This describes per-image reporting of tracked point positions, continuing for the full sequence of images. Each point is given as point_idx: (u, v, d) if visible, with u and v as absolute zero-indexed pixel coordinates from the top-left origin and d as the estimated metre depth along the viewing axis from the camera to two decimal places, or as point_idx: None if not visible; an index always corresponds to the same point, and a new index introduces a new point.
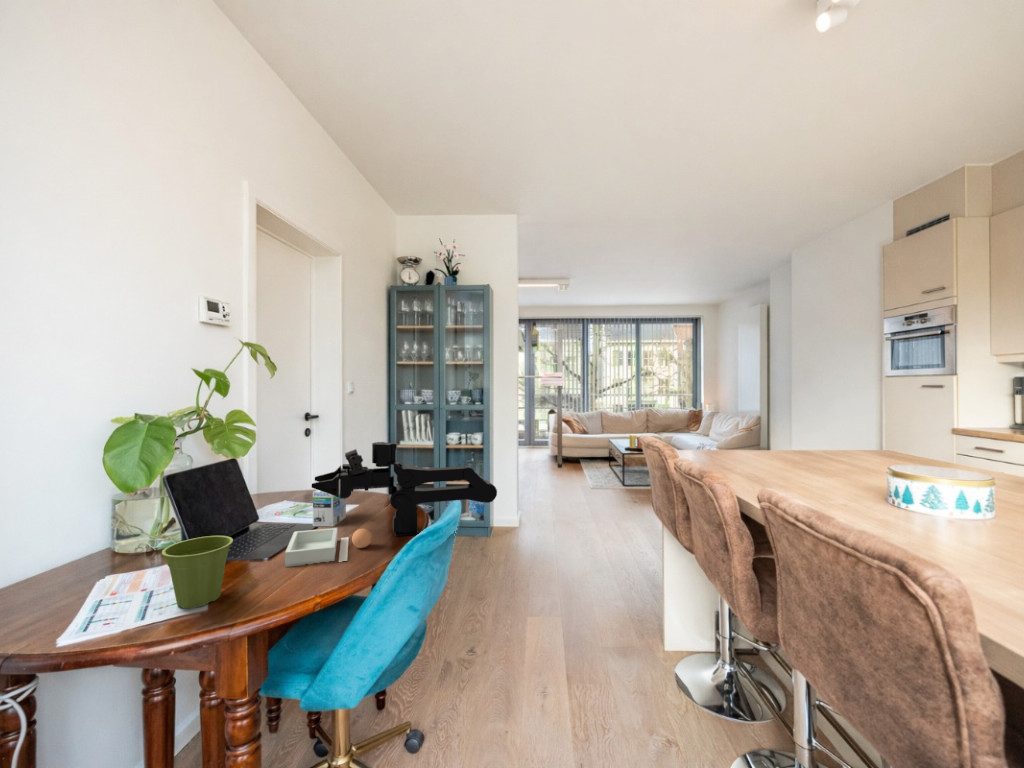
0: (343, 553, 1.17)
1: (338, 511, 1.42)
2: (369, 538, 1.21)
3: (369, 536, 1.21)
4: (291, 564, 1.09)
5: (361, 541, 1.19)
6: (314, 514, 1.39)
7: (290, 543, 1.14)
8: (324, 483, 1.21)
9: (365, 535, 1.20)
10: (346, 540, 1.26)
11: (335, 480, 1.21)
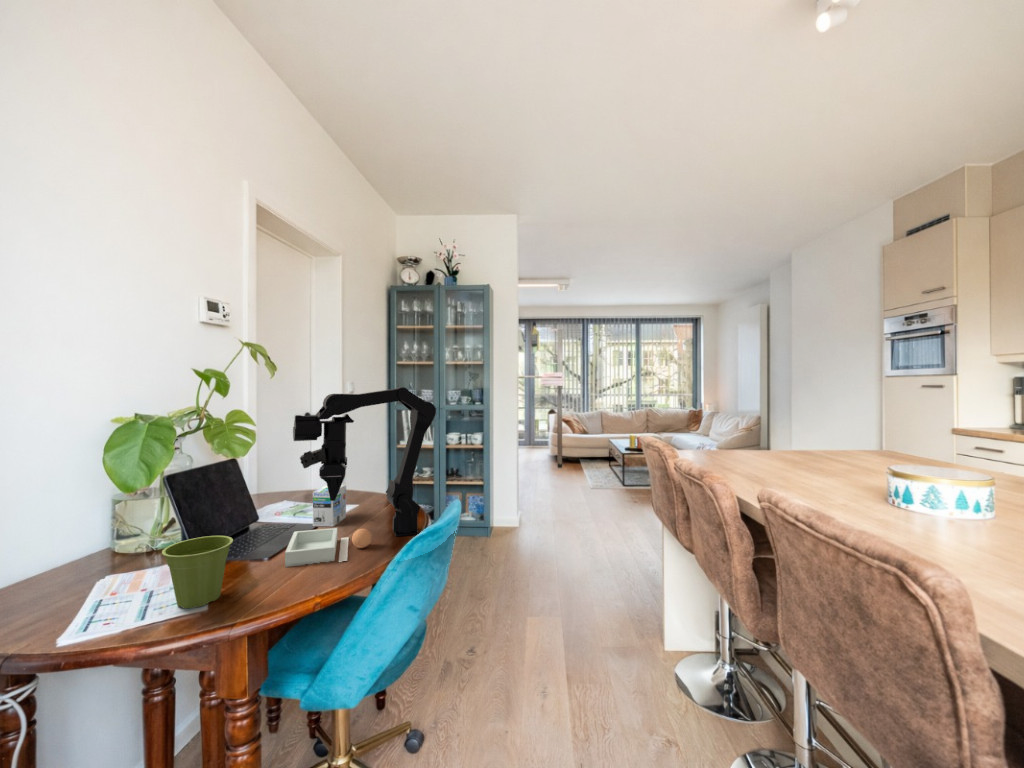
0: (343, 553, 1.17)
1: (338, 511, 1.42)
2: (369, 538, 1.21)
3: (369, 536, 1.21)
4: (291, 564, 1.09)
5: (361, 541, 1.19)
6: (314, 514, 1.39)
7: (290, 543, 1.14)
8: (330, 489, 1.18)
9: (365, 535, 1.20)
10: (346, 540, 1.26)
11: (326, 479, 1.17)
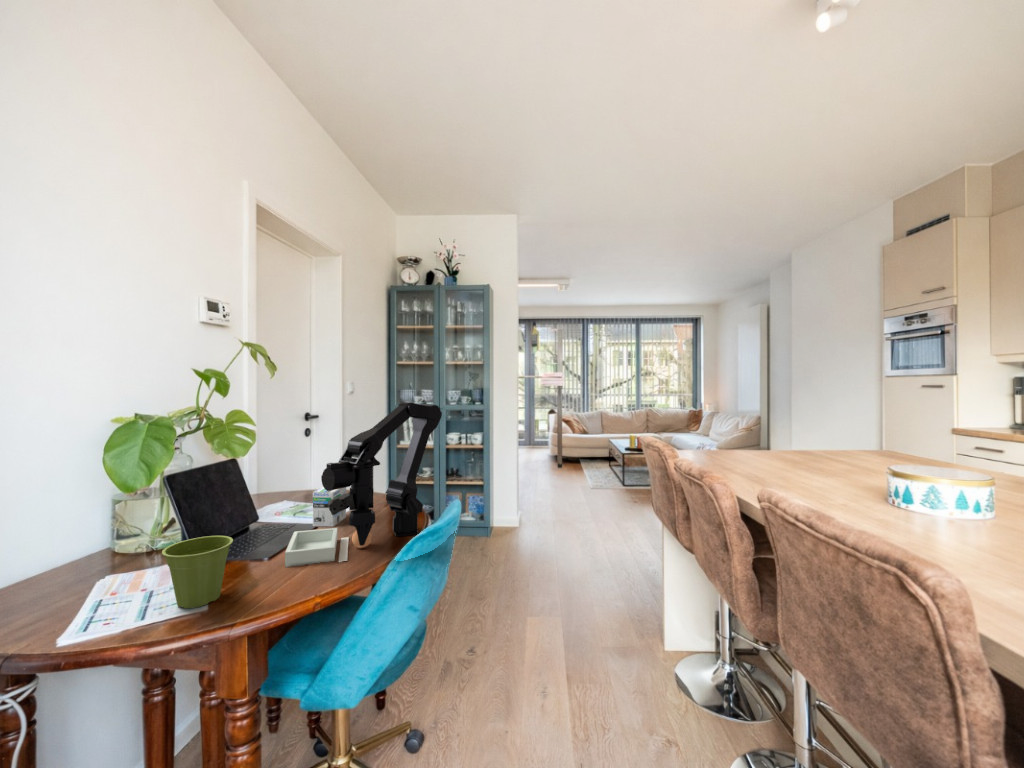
0: (343, 553, 1.17)
1: None
2: (369, 538, 1.21)
3: (369, 536, 1.21)
4: (291, 564, 1.09)
5: None
6: (314, 514, 1.39)
7: (290, 543, 1.14)
8: (360, 534, 1.18)
9: None
10: (346, 540, 1.26)
11: (356, 524, 1.17)
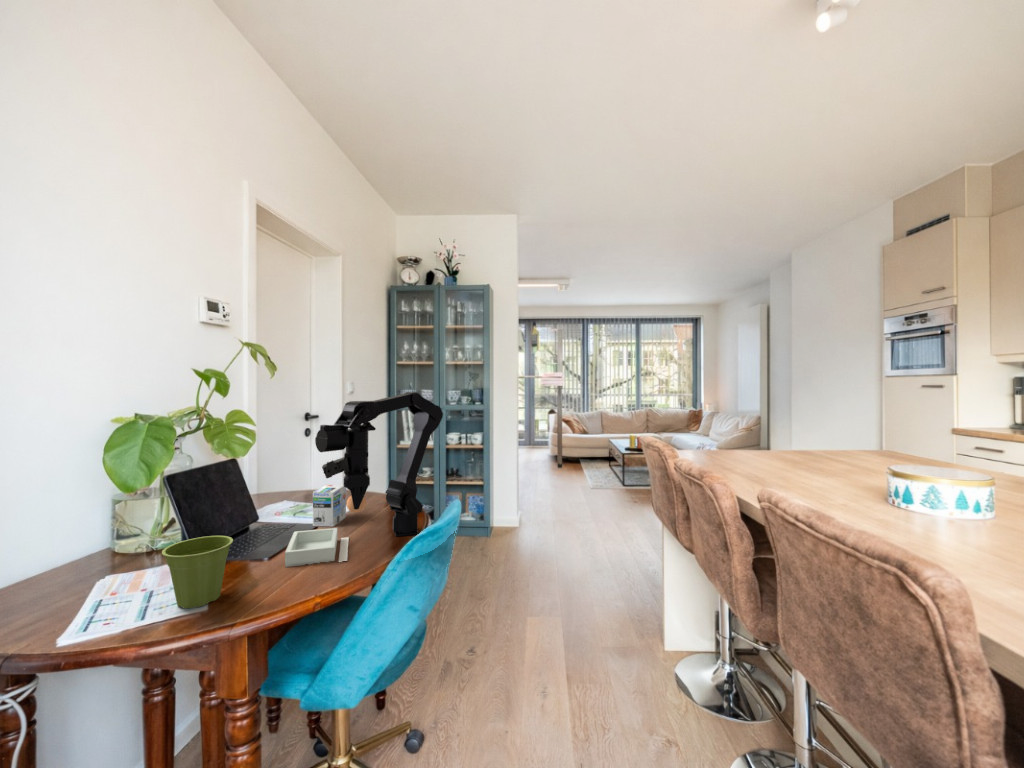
0: (343, 553, 1.17)
1: (338, 511, 1.42)
2: (364, 503, 1.20)
3: (364, 501, 1.20)
4: (291, 564, 1.09)
5: None
6: (314, 514, 1.39)
7: (290, 543, 1.14)
8: (354, 497, 1.17)
9: None
10: (346, 540, 1.26)
11: (350, 488, 1.16)
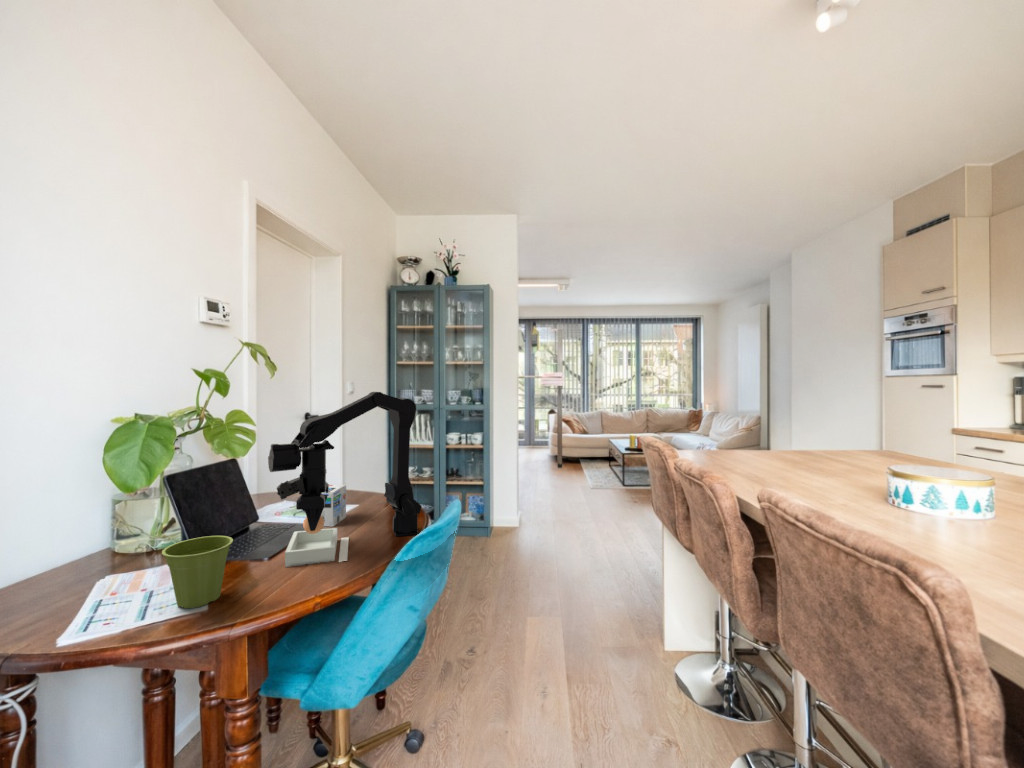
0: (343, 553, 1.17)
1: (338, 511, 1.42)
2: (321, 523, 1.17)
3: (321, 521, 1.17)
4: (291, 564, 1.09)
5: None
6: None
7: (290, 543, 1.14)
8: (310, 519, 1.14)
9: None
10: (346, 540, 1.26)
11: (305, 509, 1.13)
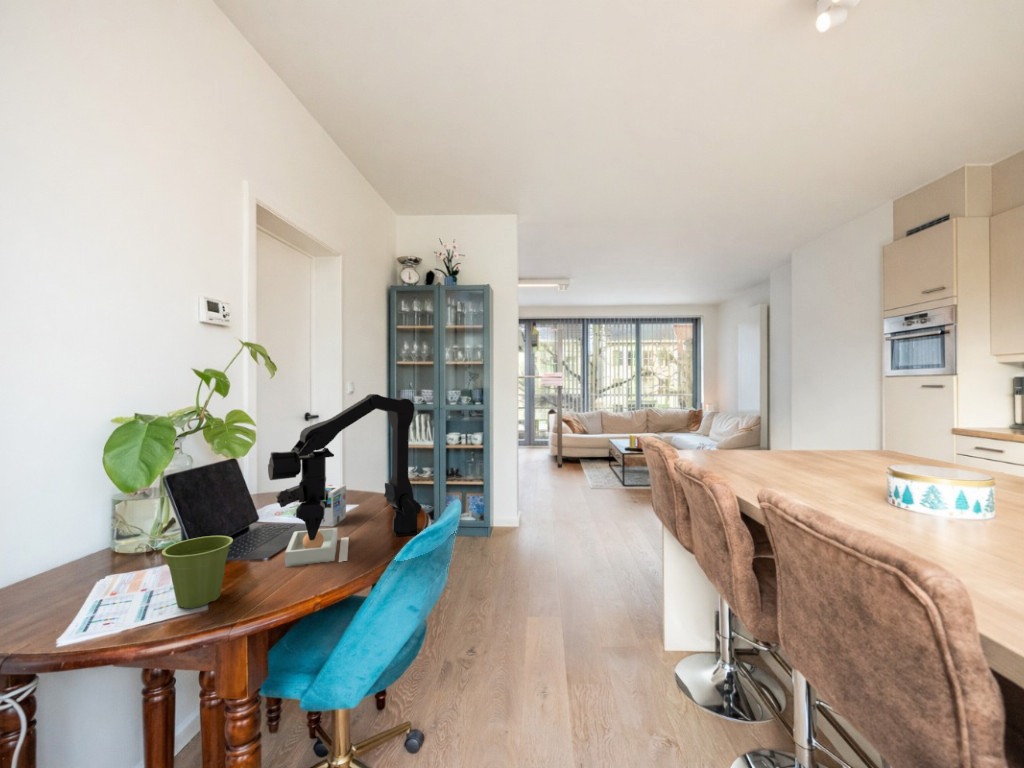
0: (343, 553, 1.17)
1: (338, 511, 1.42)
2: (320, 541, 1.17)
3: (320, 539, 1.17)
4: (291, 564, 1.09)
5: (311, 544, 1.15)
6: None
7: (290, 543, 1.14)
8: (309, 528, 1.13)
9: (316, 538, 1.16)
10: (346, 540, 1.26)
11: (305, 518, 1.12)
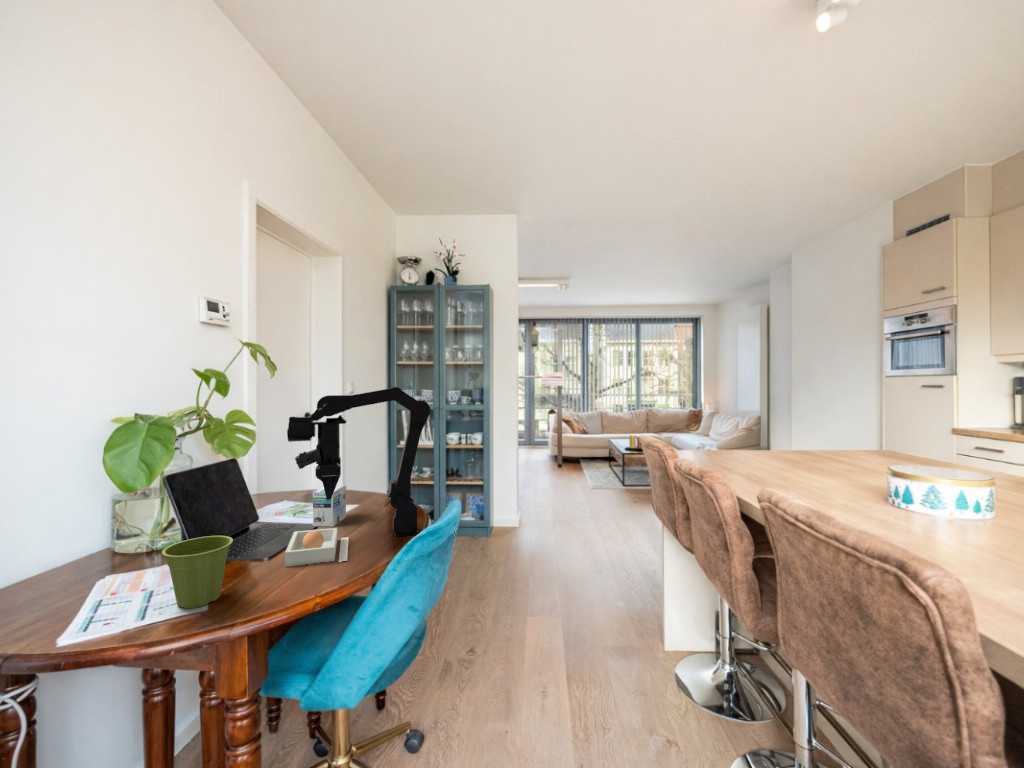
0: (343, 553, 1.17)
1: (338, 511, 1.42)
2: (320, 541, 1.17)
3: (320, 539, 1.17)
4: (291, 564, 1.09)
5: (311, 544, 1.15)
6: (314, 514, 1.39)
7: (290, 543, 1.14)
8: (326, 488, 1.22)
9: (316, 538, 1.16)
10: (346, 540, 1.26)
11: (322, 479, 1.20)
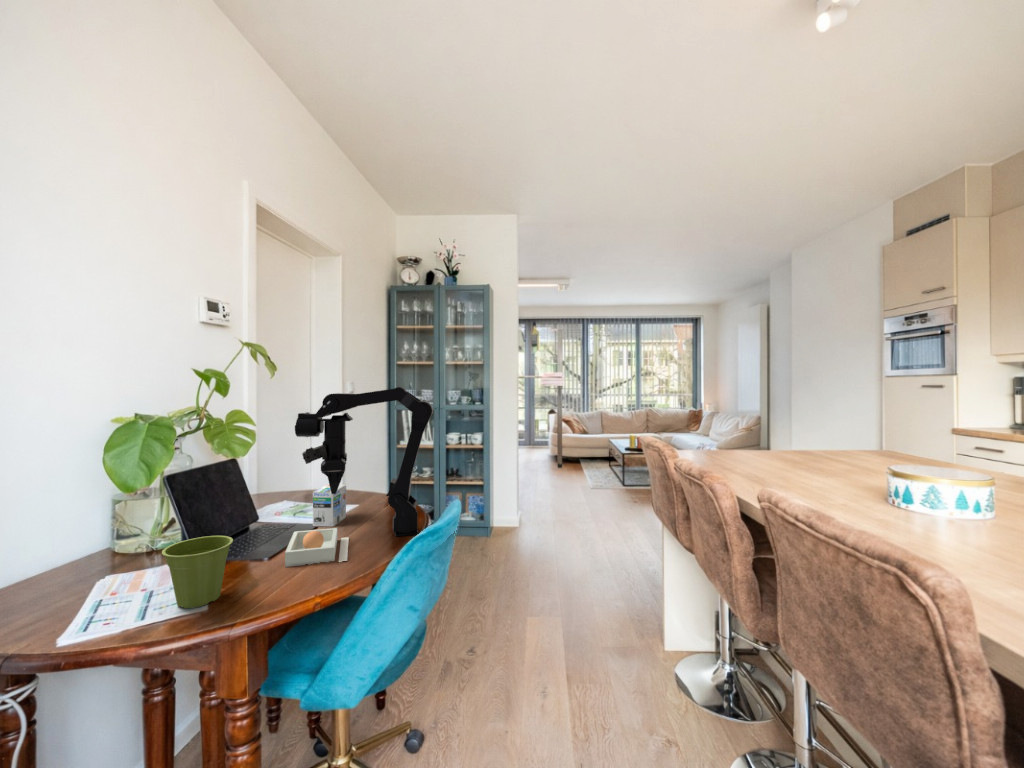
0: (343, 553, 1.17)
1: (338, 511, 1.42)
2: (320, 540, 1.17)
3: (320, 538, 1.17)
4: (291, 564, 1.09)
5: (311, 544, 1.15)
6: (314, 514, 1.39)
7: (290, 543, 1.14)
8: (331, 483, 1.26)
9: (316, 537, 1.16)
10: (346, 540, 1.26)
11: (327, 474, 1.25)
